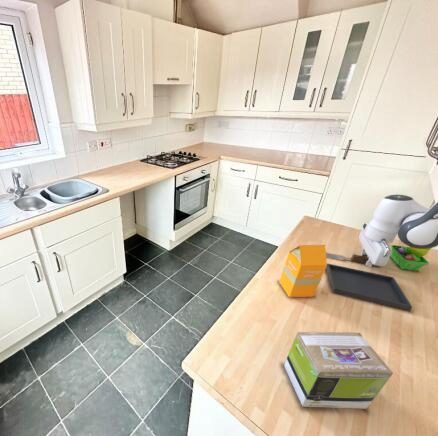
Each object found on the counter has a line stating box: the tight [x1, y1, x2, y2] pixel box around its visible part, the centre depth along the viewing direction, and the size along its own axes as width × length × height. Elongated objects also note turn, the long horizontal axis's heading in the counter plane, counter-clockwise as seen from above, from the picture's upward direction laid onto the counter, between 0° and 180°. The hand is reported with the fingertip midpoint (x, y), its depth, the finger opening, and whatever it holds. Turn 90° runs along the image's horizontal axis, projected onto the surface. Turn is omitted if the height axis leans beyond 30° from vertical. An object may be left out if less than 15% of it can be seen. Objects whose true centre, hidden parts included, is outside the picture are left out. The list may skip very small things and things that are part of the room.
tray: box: [325, 262, 413, 312], centre depth 90 cm, size 21×15×2 cm
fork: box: [326, 252, 379, 267], centre depth 103 cm, size 18×3×3 cm, turn 66°
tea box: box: [283, 331, 394, 410], centre depth 58 cm, size 15×10×15 cm, turn 88°
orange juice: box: [279, 244, 328, 298], centre depth 85 cm, size 8×9×20 cm
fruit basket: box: [390, 244, 432, 272], centre depth 99 cm, size 11×9×11 cm
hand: (365, 261), depth 102 cm, fingers open, 5 cm apart
